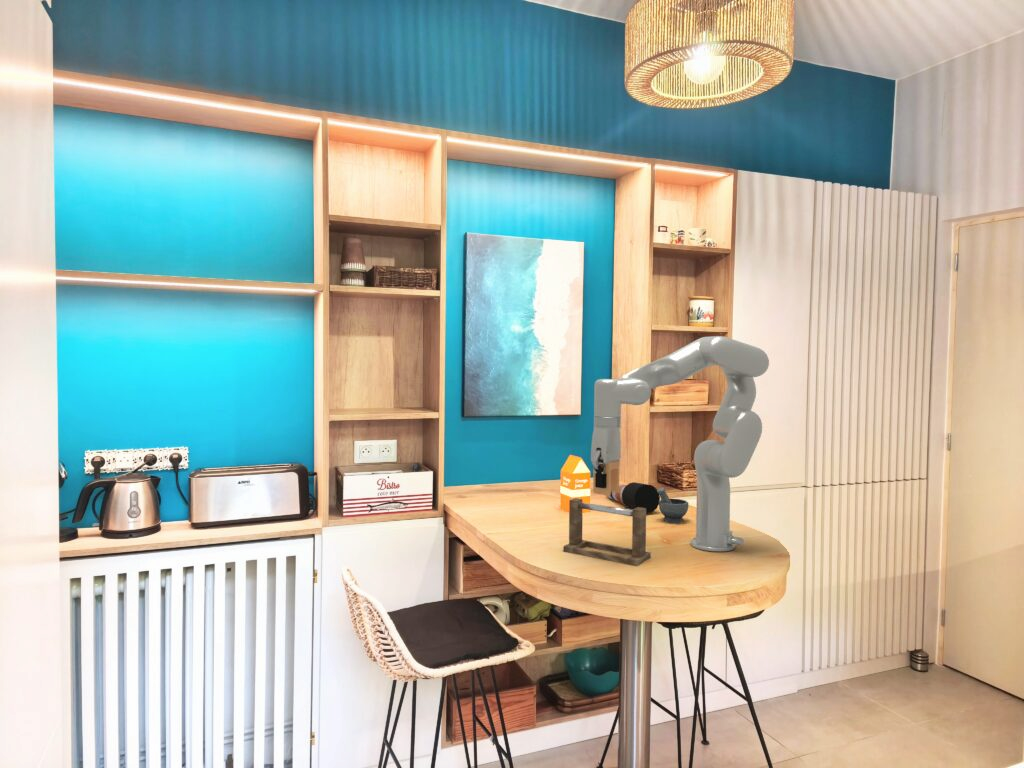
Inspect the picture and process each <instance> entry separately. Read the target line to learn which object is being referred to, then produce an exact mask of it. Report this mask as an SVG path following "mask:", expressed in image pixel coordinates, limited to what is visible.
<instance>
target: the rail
mask: <svg viewBox="0 0 1024 768" xmlns="http://www.w3.org/2000/svg"><path fill="white" fill-rule="evenodd" d="M578 508H581V509H587V510H590V511H595V512H599V513H600V512H602V513H609V514H614V515H621V516H626V517H632V518H633V510H632V509H629V508H622V507H615V506H608V505H602V504H596V503H595V504H594V503H590V504H589V503H583V502H579V503H578Z"/></svg>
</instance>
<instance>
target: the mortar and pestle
mask: <svg viewBox="0 0 1024 768" xmlns="http://www.w3.org/2000/svg"><path fill="white" fill-rule="evenodd" d="M657 492H658V494H659V496H660V500H659V505H658V508H659V510H660V513H661V514H662V515H663V516H664V518H663V521H664V523H666V524H667V523H668V524H675V525H677V524H682V523H684V522H683V517H684V516H685V515H686V514H687V512H688V510H689V502H688V501H687V500H685V499H680V498H671V497H670V496H669V495H668V493H667V492H666V488H664V487H662V486H661V487H659V488H658V489H657Z"/></svg>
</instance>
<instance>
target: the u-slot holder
mask: <svg viewBox="0 0 1024 768" xmlns="http://www.w3.org/2000/svg"><path fill="white" fill-rule="evenodd" d="M620 461H621V460H619V461H614V462H610V463H607V464H606V471H605V474H607V478H606V488H598V487H595V469H594V468H593V471H592V472H593V474H592V475H593V478H592V480H593V483H592V488H593V489H592V493H593V494H594V495H595V494H596V495H601V496H602V495H603V496H607V495H611V492H617V493H618V492H619V485H620ZM600 462H603V461H600ZM601 467H602V468H603V465H601Z"/></svg>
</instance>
